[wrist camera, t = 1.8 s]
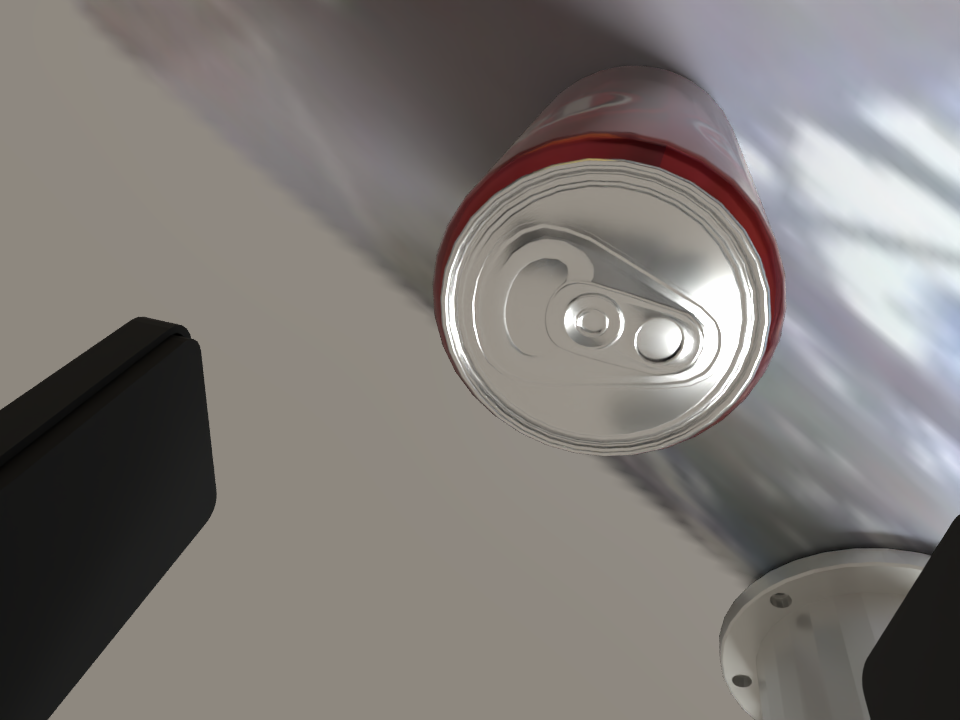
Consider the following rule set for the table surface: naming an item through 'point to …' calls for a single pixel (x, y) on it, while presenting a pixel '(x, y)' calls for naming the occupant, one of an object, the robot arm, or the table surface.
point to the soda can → (613, 270)
